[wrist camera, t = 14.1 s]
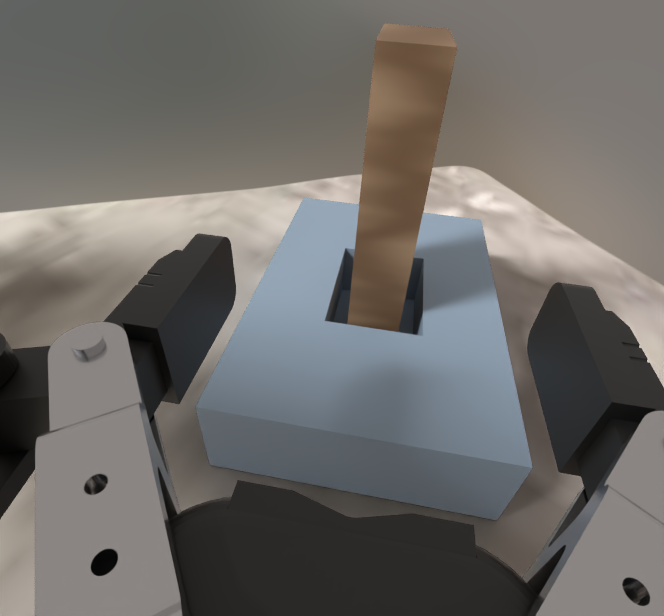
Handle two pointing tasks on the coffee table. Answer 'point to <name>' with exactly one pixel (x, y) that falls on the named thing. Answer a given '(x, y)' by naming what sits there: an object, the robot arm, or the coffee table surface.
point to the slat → (397, 166)
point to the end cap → (373, 374)
